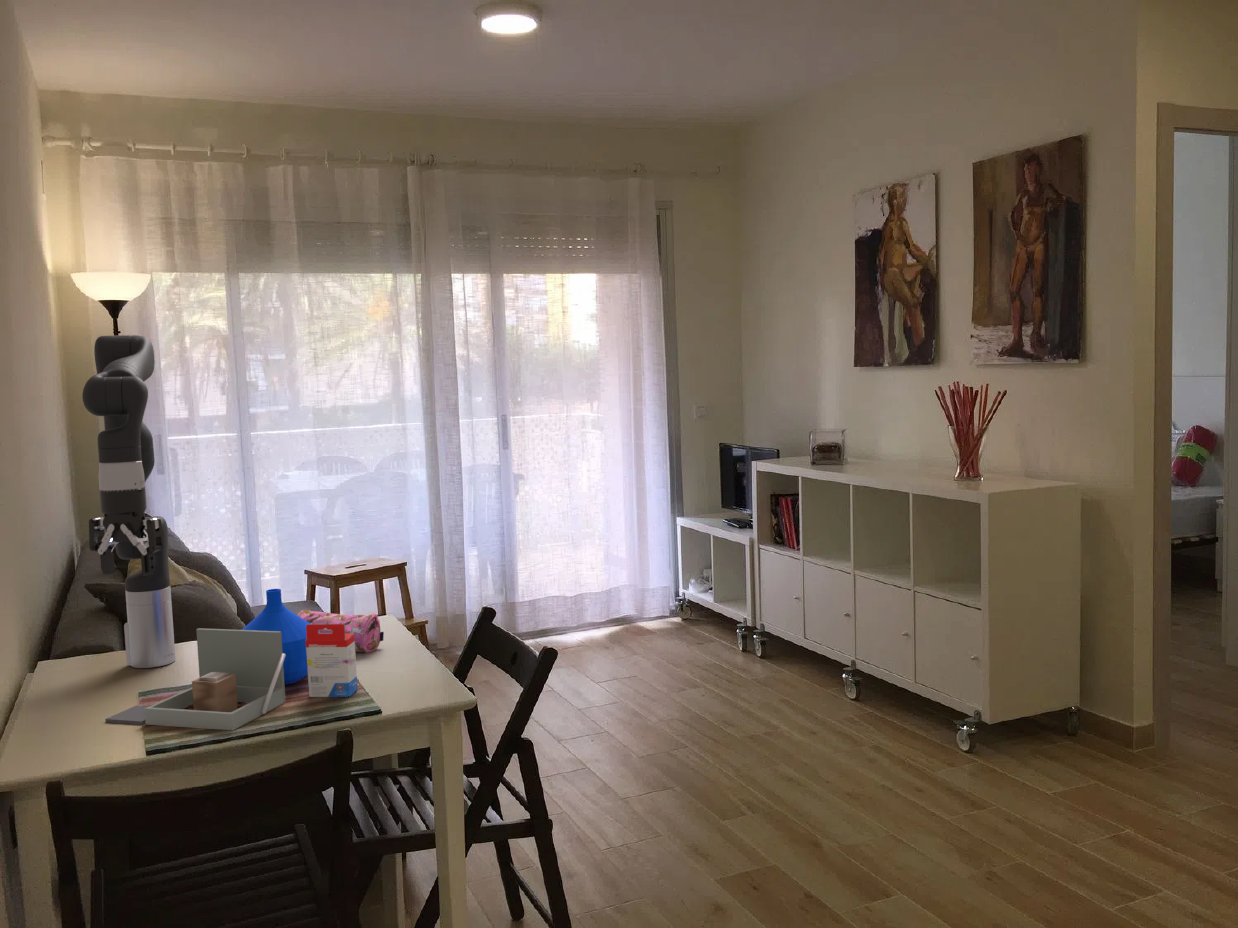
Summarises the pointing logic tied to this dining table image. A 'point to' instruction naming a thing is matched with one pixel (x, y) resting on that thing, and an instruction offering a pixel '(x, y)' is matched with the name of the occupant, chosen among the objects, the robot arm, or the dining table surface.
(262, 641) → the case
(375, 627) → the pencil case
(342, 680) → the ink box
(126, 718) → the mat
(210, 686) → the module
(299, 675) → the blue funnel
